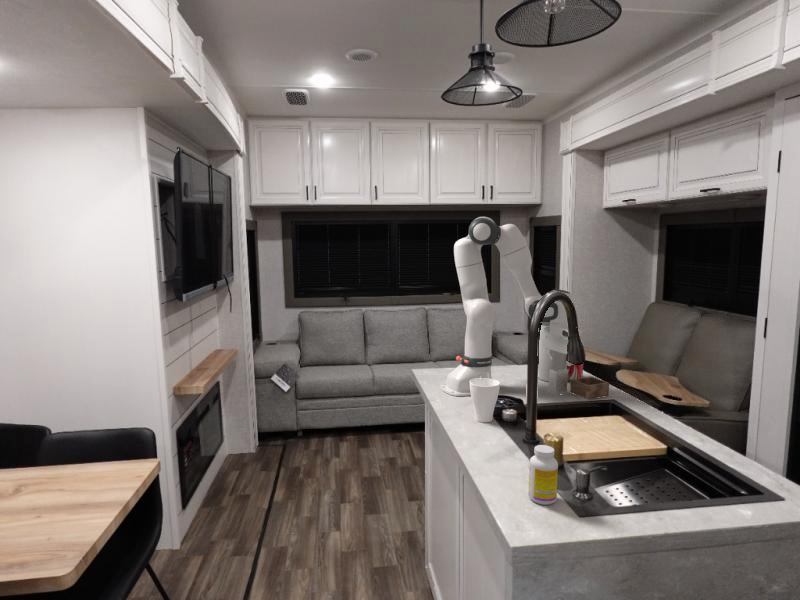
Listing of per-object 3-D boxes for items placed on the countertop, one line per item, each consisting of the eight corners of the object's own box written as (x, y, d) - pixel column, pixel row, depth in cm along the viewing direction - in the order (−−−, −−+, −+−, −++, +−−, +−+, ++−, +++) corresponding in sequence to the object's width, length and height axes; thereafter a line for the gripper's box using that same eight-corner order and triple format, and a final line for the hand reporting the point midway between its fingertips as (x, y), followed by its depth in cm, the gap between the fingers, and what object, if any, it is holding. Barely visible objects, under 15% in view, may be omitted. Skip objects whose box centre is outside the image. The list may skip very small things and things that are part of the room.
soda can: (580, 378, 228) (581, 350, 227) (584, 382, 221) (585, 354, 219) (564, 377, 229) (565, 349, 227) (567, 382, 222) (569, 353, 220)
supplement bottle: (562, 503, 120) (564, 452, 119) (537, 507, 119) (540, 456, 117) (546, 490, 127) (548, 441, 125) (523, 493, 125) (525, 444, 123)
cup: (473, 412, 183) (474, 376, 181) (502, 417, 178) (503, 380, 176) (464, 421, 173) (465, 384, 172) (494, 427, 169) (495, 388, 167)
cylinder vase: (550, 373, 236) (552, 321, 232) (571, 380, 225) (574, 325, 222) (530, 377, 229) (532, 323, 226) (551, 384, 219) (554, 327, 215)
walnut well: (588, 399, 198) (588, 386, 198) (569, 392, 207) (570, 379, 207) (608, 396, 203) (609, 382, 202) (589, 389, 212) (590, 376, 211)
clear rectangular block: (555, 395, 203) (556, 371, 202) (548, 392, 206) (549, 369, 205) (566, 393, 205) (568, 370, 204) (560, 391, 209) (561, 367, 208)
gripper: (538, 326, 211) (537, 358, 212) (573, 334, 192) (572, 369, 194) (549, 324, 213) (549, 356, 215) (585, 332, 195) (584, 367, 196)
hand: (560, 362), depth 204 cm, fingers open, 8 cm apart
